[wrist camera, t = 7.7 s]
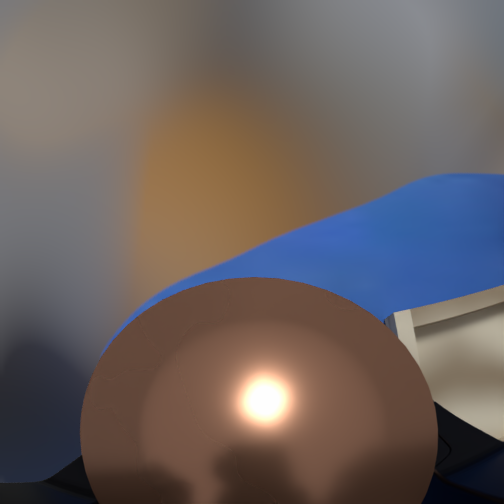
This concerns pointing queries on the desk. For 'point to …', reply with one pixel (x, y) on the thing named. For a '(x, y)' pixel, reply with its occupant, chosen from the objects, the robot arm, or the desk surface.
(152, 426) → the copper cylinder
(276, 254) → the desk surface
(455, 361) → the tray
